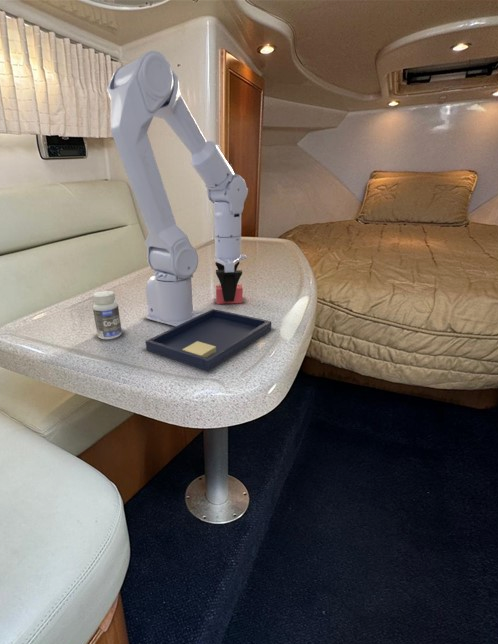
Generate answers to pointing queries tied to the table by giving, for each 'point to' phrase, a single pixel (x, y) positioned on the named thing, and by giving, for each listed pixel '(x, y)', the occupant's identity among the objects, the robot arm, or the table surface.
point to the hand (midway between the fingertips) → (228, 296)
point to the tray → (209, 337)
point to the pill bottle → (106, 315)
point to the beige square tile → (201, 349)
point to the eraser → (237, 298)
